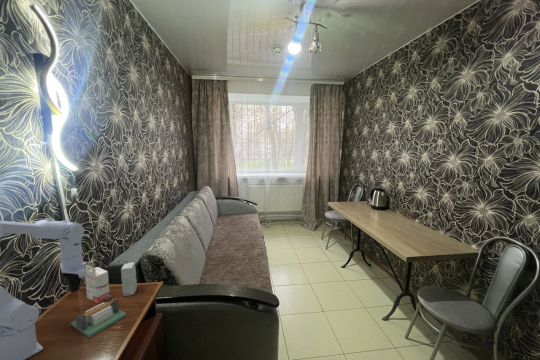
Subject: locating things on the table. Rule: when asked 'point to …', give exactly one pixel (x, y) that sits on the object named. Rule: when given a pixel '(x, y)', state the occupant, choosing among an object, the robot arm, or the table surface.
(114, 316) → the board
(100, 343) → the table surface
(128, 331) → the table surface
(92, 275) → the ink cartridge box
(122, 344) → the table surface
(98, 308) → the strap
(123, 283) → the skincare box
